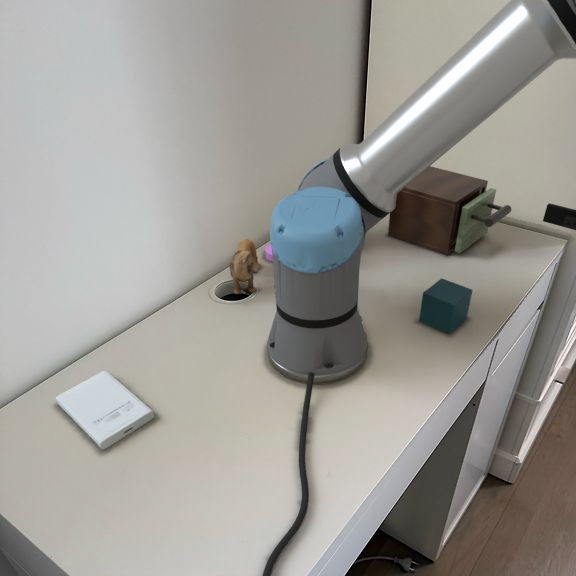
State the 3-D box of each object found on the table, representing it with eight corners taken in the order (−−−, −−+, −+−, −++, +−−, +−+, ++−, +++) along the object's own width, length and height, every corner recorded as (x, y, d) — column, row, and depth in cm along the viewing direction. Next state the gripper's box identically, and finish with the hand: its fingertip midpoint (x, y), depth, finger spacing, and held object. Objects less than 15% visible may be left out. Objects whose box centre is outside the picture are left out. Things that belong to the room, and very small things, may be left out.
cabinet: (477, 232, 109) (488, 180, 102) (447, 255, 103) (456, 201, 96) (419, 214, 116) (425, 164, 109) (387, 235, 110) (392, 183, 103)
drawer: (507, 239, 105) (518, 195, 99) (481, 260, 99) (491, 215, 93) (431, 216, 114) (437, 174, 108) (403, 234, 108) (408, 191, 102)
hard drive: (108, 377, 81) (155, 417, 74) (58, 405, 77) (102, 451, 70) (105, 369, 80) (152, 409, 73) (54, 397, 76) (99, 442, 69)
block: (466, 318, 88) (472, 289, 84) (448, 334, 85) (454, 305, 81) (436, 306, 91) (441, 277, 87) (418, 321, 88) (422, 292, 84)
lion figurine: (264, 302, 94) (260, 256, 88) (233, 305, 94) (227, 259, 88) (258, 260, 105) (254, 216, 99) (231, 263, 105) (225, 219, 99)
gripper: (674, 294, 73) (523, 248, 85) (723, 226, 86) (586, 194, 98) (700, 243, 68) (535, 201, 80) (747, 179, 81) (600, 151, 93)
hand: (563, 197), depth 89 cm, fingers open, 13 cm apart
